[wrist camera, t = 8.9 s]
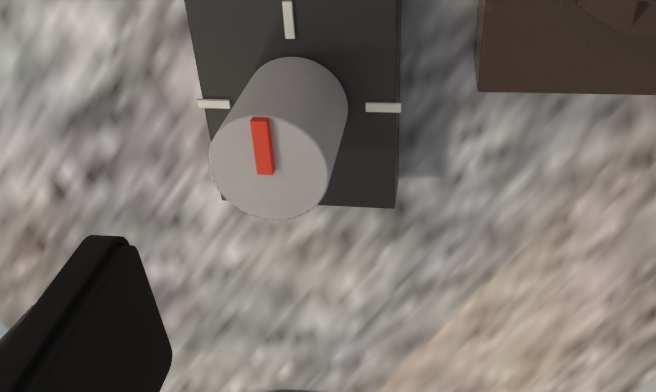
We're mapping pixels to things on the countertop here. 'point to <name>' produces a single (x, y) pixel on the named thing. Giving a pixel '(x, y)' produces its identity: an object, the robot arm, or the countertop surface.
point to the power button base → (566, 46)
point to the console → (327, 50)
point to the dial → (280, 140)
